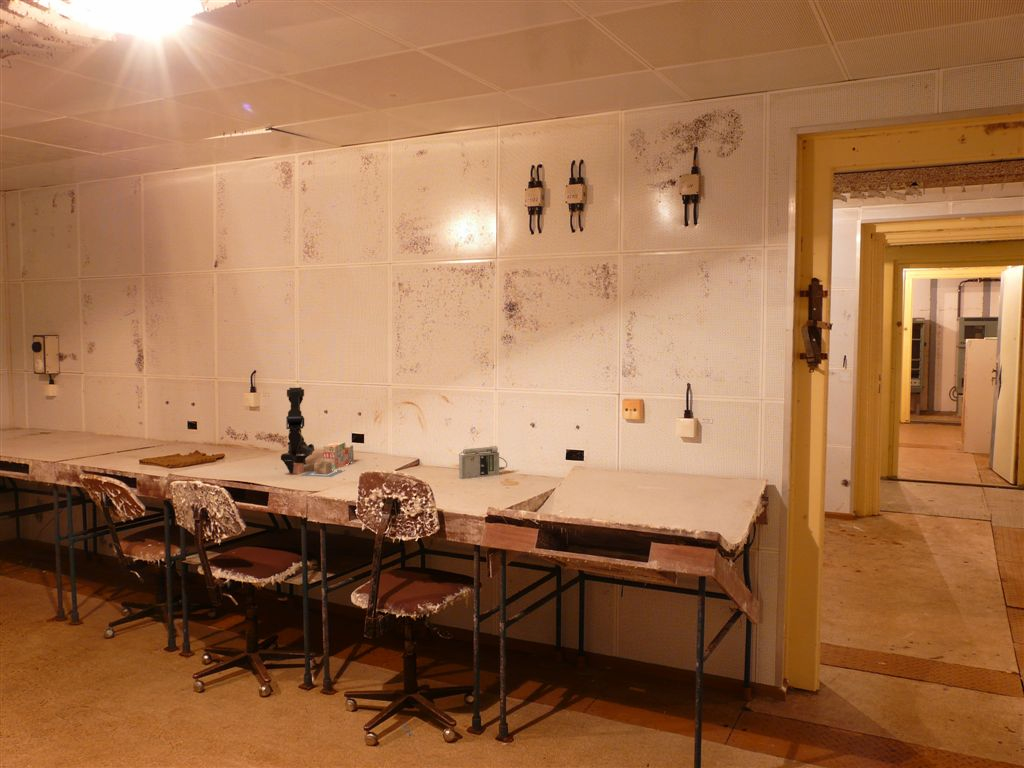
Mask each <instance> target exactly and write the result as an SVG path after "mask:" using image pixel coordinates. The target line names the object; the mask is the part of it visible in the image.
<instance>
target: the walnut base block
mask: <svg viewBox="0 0 1024 768" xmlns="http://www.w3.org/2000/svg"><path fill="white" fill-rule="evenodd" d="M313 464H314V465H313V466H314V468H313V470H314V471H315V474H328V473H331V472H332V470H333V469H332V462H324V460H323V461H317V462H315V463H313Z"/></svg>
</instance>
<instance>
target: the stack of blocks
mask: <svg viewBox="0 0 1024 768" xmlns="http://www.w3.org/2000/svg"><path fill="white" fill-rule="evenodd" d="M322 447H323V450H322V451H323V453H322V455H323V457H322V458H323V461H324V462H332V470H338V469H339V467H340V468H342V467H344V466H345V465H346V464H348V463H351V462H353V461H355V459H354V454H355V453H354V445H353V444H346V442H345V441H333V442H330V443H328V444H325V445H323V446H322Z"/></svg>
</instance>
